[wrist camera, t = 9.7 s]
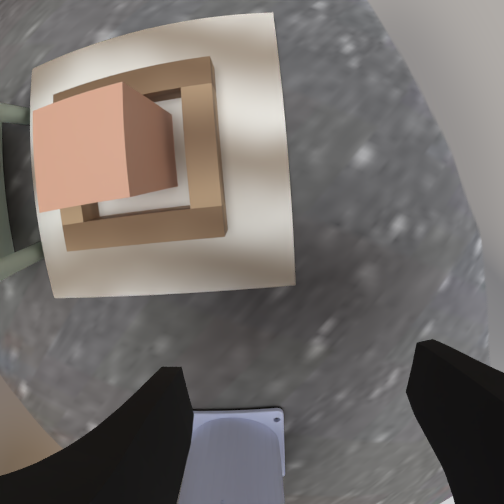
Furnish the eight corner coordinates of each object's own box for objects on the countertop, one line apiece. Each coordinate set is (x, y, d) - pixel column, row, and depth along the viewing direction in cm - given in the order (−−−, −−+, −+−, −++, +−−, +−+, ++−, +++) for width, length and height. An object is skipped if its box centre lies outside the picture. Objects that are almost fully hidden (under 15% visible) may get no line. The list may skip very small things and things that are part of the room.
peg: (177, 186, 16) (129, 197, 10) (112, 195, 16) (39, 212, 10) (171, 114, 15) (122, 81, 9) (106, 127, 15) (32, 111, 9)
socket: (293, 279, 19) (300, 298, 16) (61, 292, 19) (38, 309, 16) (271, 19, 15) (275, -4, 12) (40, 71, 15) (15, 62, 12)
